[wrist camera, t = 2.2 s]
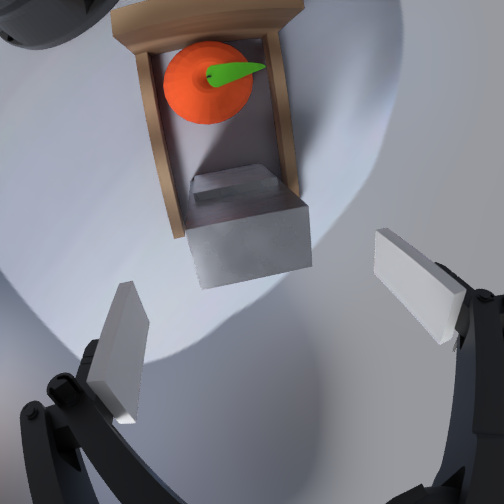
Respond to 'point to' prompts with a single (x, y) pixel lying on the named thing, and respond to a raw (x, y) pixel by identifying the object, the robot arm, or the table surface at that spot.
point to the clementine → (209, 82)
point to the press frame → (199, 30)
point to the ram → (245, 226)
